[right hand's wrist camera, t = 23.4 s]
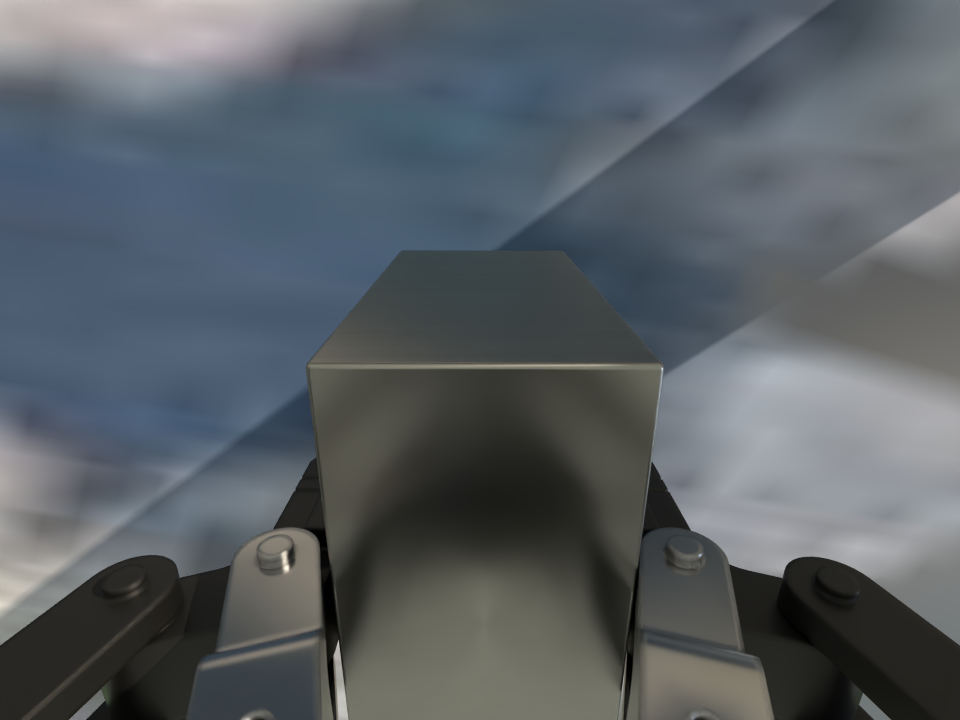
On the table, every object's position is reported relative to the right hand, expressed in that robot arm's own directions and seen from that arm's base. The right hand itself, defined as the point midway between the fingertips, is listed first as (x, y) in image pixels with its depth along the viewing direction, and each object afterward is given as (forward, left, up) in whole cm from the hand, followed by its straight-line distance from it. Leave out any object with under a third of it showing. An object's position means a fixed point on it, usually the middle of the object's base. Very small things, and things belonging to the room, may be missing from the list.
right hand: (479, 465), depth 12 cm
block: (0, 0, -4) cm, 4 cm away
